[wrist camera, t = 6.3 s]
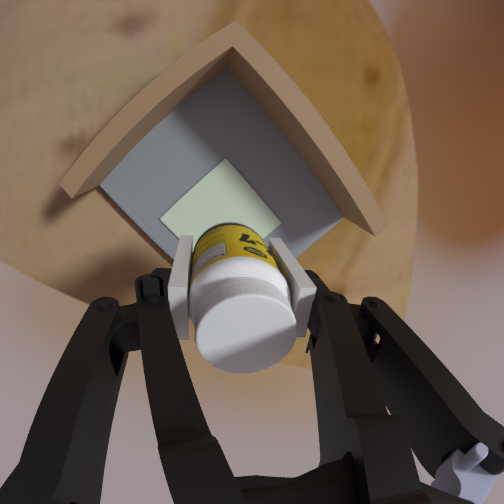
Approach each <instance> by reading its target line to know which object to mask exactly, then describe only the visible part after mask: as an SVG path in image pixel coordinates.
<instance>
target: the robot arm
mask: <svg viewBox="0 0 504 504" xmlns="http://www.w3.org/2000/svg"><path fill="white" fill-rule="evenodd" d="M268 250H269V251H270V253H271V255H272V257H273V258H274V260H275V262H276V264H277V266H278V267H279V269H280V271H281V273H282V274H283V276H284V278H285V279H286V282H287V284H288V287H289V290H290V295H291V308H292V311H293V314H294V316H295V319H296V323H297V336H296V337H305V336H306V332H307V328H309V330H310V332H311V334H310V337H309V341H308V345H307V349H306V353H308V351H309V349H310V355H311V363H312V372H313V381H314V390H315V399H316V409H317V419H318V431H319V443H320V463H319V467H318V468H316V469H314V470H311V471H309V472H307V473H305V474H303V475H300V476H298V477H294V478H285V477H268V476H258V475H255V476H243V477H234V475H233V473H232V471H231V469H230V467H229V465H228V462H227V460H226V458H225V456H224V453H223V451H222V449H221V447H220V445H219V443H218V441H217V439H216V438H215V437H214V436H212V434H211V432H210V430H209V428H208V425H207V422H206V420H205V417H204V415H203V412H202V409H201V407H200V404H199V401H198V398H197V395H196V393H195V390H194V387H193V384H192V381H191V378H190V375H189V372H188V369H187V366H186V363H185V359H184V356H183V353H182V350H181V346H180V343H179V340H188V335H189V316H190V315H189V311H188V291H189V282H190V273H191V264H192V257H193V235H181V236H180V240H179V243H178V247H177V251H176V255H175V259H174V263H173V267H172V268H156V269H155V270H154V271H153V272H152V273H151V274H146V275H142V276H139V277H138V278H137V279H136V280H135V291H136V299H137V302H136V303H134V304H131V305H125V306H119V302H118V301H117V300H116V299H114V298H110V297H102V298H98V299H96V300H95V301H93V302H92V303H91V304H90V306H89V307H88V309H87V311H86V312H85V314H84V316H83V318H82V319H81V321H80V323H79V325H78V326H77V328H76V330H75V332H74V334H73V336H72V338H71V339H70V341H69V343H68V345H67V347H66V349H65V351H64V353H63V355H62V357H61V359H60V361H59V363H58V365H57V367H56V369H55V371H54V373H53V375H52V377H51V380H50V382H49V384H48V386H47V389H46V391H45V393H44V395H43V398H42V400H41V403H40V405H39V407H38V410H37V413H36V415H35V417H34V420H33V423H32V426H31V428H30V431H29V434H28V437H27V440H26V442H25V446H24V449H23V452H22V455H21V458H20V462H19V464H18V465H17V466H16V468H15V469H14V470H13V472H12V473H11V474H10V476H9V477H8V478H7V480H6V481H5V482H4V484H3V485H2V487H1V488H0V504H100V499H101V492H102V483H103V475H104V467H105V461H106V454H107V449H108V442H109V437H110V432H111V426H112V421H113V417H114V412H115V407H116V403H117V398H118V393H119V390H120V385H121V381H122V377H123V373H124V370H125V366H126V362H127V358H128V354H129V353H128V352H129V351H136V350H141V353H142V360H143V367H144V374H145V381H146V387H147V393H148V398H149V404H150V409H151V414H152V419H153V424H154V428H155V433H156V437H157V441H158V451H159V455H160V459H161V463H162V466H163V470H164V474H165V477H166V480H167V484H168V487H169V490H170V493H171V496H172V499H173V502H174V504H483V502H484V501H485V499H486V497H487V495H488V494H489V492H490V490H491V488H492V486H493V485H494V483H495V481H496V479H497V477H498V476H499V475H500V474H501V473H502V472H503V471H504V427H503V426H502V425H501V424H499V423H498V422H497V421H495V420H494V419H493V418H491V417H490V416H489V415H487V414H486V413H484V412H483V411H482V409H481V408H480V407H479V406H478V404H477V403H476V402H475V401H474V400H473V398H472V397H471V396H470V395H469V393H468V392H467V391H466V390H465V389H464V387H463V386H462V385H461V384H460V383H459V382H458V380H457V379H456V378H455V377H454V376H453V375H452V373H451V372H450V371H449V370H448V369H447V368H446V367H445V365H444V364H443V363H442V362H441V361H440V360H439V359H438V358H437V356H436V355H435V354H434V353H433V352H432V351H431V350H430V349H429V348H428V347H427V346H426V344H425V343H424V342H423V341H422V340H421V339H420V338H419V337H418V336H417V335H416V334H415V333H414V332H413V331H412V329H411V328H410V327H409V326H408V325H407V324H406V323H405V322H404V321H403V320H402V319H401V318H400V317H399V316H398V315H397V314H396V313H395V312H394V311H393V310H392V309H391V308H390V307H389V306H388V305H387V304H386V303H385V302H384V301H383V300H381V299H379V298H377V297H376V298H375V297H365V298H363V300H362V303H361V305H356V304H349V303H348V302H347V299H346V298H345V297H344V296H343V295H341V294H339V293H337V292H332V291H330V290H329V289H328V287H327V286H326V285H325V284H324V283H323V281H322V280H321V279H320V277H319V276H318V275H317V274H316V273H314V272H313V271H311V270H303V268H302V267H301V266H300V264H299V263H298V262H297V260H296V259H295V257H294V256H293V255H292V253H291V252H290V251H289V249H288V248H287V247H286V245H285V244H284V243H283V241H282V240H281V239H280V238H269V239H268ZM377 334H378V335H379V336H380V341H379V343H377V342H376V341H375V339H376V337H377ZM385 405H386V406H385ZM386 407H387V409H388V410H389V412H390V413H391V415H389V414H388V412H387V410H386ZM411 449H412V450H413V452H414V454H415V455H416V457H417V458H418V460H419V461H420V463H421V465H422V466H423V467H424V468H425V469H426V471H427V472H428V473H429V474H430V475H431V476H432V477H433V478H434V479H435V480H434V481H433V482H432V483H431V486H429V485H427V484H424V483H422V482H420V480H419V476H418V473H417V468H416V465H415V461H414V458H413V454H412V451H411Z"/></svg>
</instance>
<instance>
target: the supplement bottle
mask: <svg viewBox="0 0 504 504" xmlns="http://www.w3.org/2000/svg"><path fill="white" fill-rule="evenodd" d="M188 311H189V315H190V318H191V320H192V323H193V324H194V326H195V341H196V346H197V348H198V350H199V352H200V354H201V355H202V357H203V358H204V359H205V360H206V361H207V362H208V363H210V364H211V365H213V366H214V367H217V368H219V369H221V370H224V371H227V372H232V373H251V372H256V371H260V370H263V369H266V368H268V367H270V366H272V365H274V364H276V363H277V362H279V361H280V360H281V359H283V358H284V357H285V356H286V355H287V354H288V352H289V351H290V350H291V348H292V346H293V344H294V342H295V339H296V336H297V323H296V319H295V316H294V314H293V311H292V308H291V295H290V290H289V287H288V284H287V282H286V279H285V278H284V276H283V274H282V273H281V271H280V269H279V267H278V266H277V264H276V262H275V260H274V258H273V257H272V255H271V253H270V251H269V250H268V248H267V246H266V244H265V242H264V241H263V239H262V238H261V236H260V235H259V234H258V233H257V232H256V231H255V230H253V229H252V228H251V227H249V226H247V225H245V224H242V223H238V222H223V223H219V224H216V225H214V226H212V227H210V228H208V229H207V230H206V231H205V232H204V233H203V234H202V235H201V236H200V237H199V239H198V240H197V242H196V244H195V247H194V250H193V257H192V264H191V273H190V282H189V291H188Z"/></svg>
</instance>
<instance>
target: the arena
mask: <svg viewBox="0 0 504 504" xmlns="http://www.w3.org/2000/svg"><path fill="white" fill-rule="evenodd" d="M59 185H60V186H61V187H62V188H63V189H64V191H65V192H66V193H67V194H68V195H69V196H70V197H71V198H74V197H76V196H78V195H80V194H82V193H84V192H86V191H89V190H91V189H93V188H95V187H97V186H99V185H100V186H101V187H102V188H103V189H104V191H105V192H106V193H107V194H108V195H109V196H110V197H111V198H112V199H113V200H114V201H115V202H116V203H117V204H118V205H119V206H120V207H121V208H122V209H123V210H124V211H125V212H126V214H127V215H128V216H129V217H130V218H131V219H132V220H133V221H134V222H135V223H136V224H137V225H138V226H139V227H140V228H141V229H142V230H143V231H144V232H145V233H146V234H147V235H148V236H149V237H150V238H151V239H152V240H154V241H155V242H156V243H157V244H158V245H159V246H160V247H161V248H162V249H163V250H164V251H165V252H166V253H167V254H168V255H169V256H170V257H171V258H172V259H173V260H174V259H175V255H176V251H177V247H178V243H179V240H180V236H181V235H193V250H194V247H195V244H196V242H197V240H198V239H199V237H200V236H201V235H202V234H203V233H204V232H205V231H206V230H207V229H208V228H210V227H212V226H214V225H216V224H219V223H223V222H238V223H242V224H245V225H247V226H249V227H251V228H252V229H253V230H255V231H256V232H257V233H258V234H259V235H260V236H261V238H262V239H263V241H264V242H265V244H266V246H267V248H268V239H269V238H280V239H281V240H282V241H283V243H284V244H285V245H286V247H287V248H288V249H289V251H290V252H291V253H292V255H293V256H294V257H295V258H297V257H298V256H299V255H300V254H301V253H303V252H304V251H305V250H306V249H307V248H309V247H310V246H311V245H312V244H313V243H314V242H316V241H317V240H318V239H319V238H320V237H322V236H323V235H324V234H325V233H326V232H327V231H329V230H330V229H331V228H332V227H333V226H334V225H336V224H337V223H338V222H339V221H340V220H341V219H343V218H344V217H345V218H346V219H348V220H350V221H351V222H353V223H355V224H356V225H358V226H359V227H361V228H363V229H364V230H366V231H367V232H369V233H371V234H372V235H374V236H377V235H378V234H379V233H380V232H381V231H382V230H383V229H384V228H385V227H386V226H387V225H388V223H387V221H386V219H385V217H384V216H383V214H382V212H381V210H380V208H379V206H378V205H377V203H376V201H375V199H374V197H373V196H372V194H371V192H370V190H369V189H368V187H367V185H366V184H365V182H364V180H363V179H362V177H361V175H360V174H359V172H358V170H357V169H356V167H355V166H354V164H353V163H352V161H351V159H350V158H349V156H348V155H347V153H346V152H345V150H344V149H343V147H342V146H341V144H340V143H339V141H338V140H337V138H336V137H335V135H334V134H333V133H332V131H331V130H330V128H329V127H328V126H327V124H326V123H325V121H324V120H323V119H322V117H321V116H320V115H319V113H318V112H317V111H316V109H315V108H314V107H313V105H312V104H311V103H310V101H309V100H308V99H307V98H306V96H305V95H304V94H303V93H302V91H301V90H300V89H299V88H298V86H297V85H296V84H295V83H294V82H293V80H292V79H291V78H290V77H289V76H288V74H287V73H286V72H285V71H284V70H283V69H282V68H281V66H280V65H279V64H278V63H277V62H276V61H275V60H274V59H273V57H272V56H271V55H270V54H269V53H268V52H267V51H266V50H265V49H264V48H263V47H262V46H261V45H260V44H259V43H258V42H257V41H256V40H255V38H254V37H253V36H252V35H251V34H250V33H249V32H248V31H246V30H245V29H244V28H243V27H242V26H241V25H240V24H239V23H238V22H237V21H234V22H233V23H231V24H229V25H228V26H226V27H224V28H223V29H221V30H220V31H218V32H216V33H215V34H213V35H212V36H210V37H209V38H207V39H206V40H204V41H203V42H201V43H200V44H199V45H197V46H196V47H194V48H193V49H192V50H190V51H189V52H187V53H186V54H185V55H183V56H182V57H181V58H179V59H178V60H177V61H176V62H174V63H173V64H172V65H171V66H169V67H168V68H167V69H166V70H164V71H163V72H162V73H161V74H160V75H158V76H157V77H156V78H155V79H154V80H153V81H151V82H150V83H149V84H148V85H147V86H146V87H145V88H144V89H142V90H141V91H140V92H139V93H138V94H137V95H136V96H135V97H134V98H133V99H132V100H131V101H130V102H129V103H128V104H127V105H126V106H125V107H124V108H123V109H122V110H121V111H120V112H119V113H118V114H117V115H116V116H115V117H114V118H113V119H112V120H111V121H110V122H109V123H108V124H107V125H106V126H105V127H104V128H103V130H102V131H101V132H100V133H99V134H98V135H97V136H96V137H95V139H94V140H93V141H92V142H91V143H90V144H89V146H88V147H87V148H86V149H85V150H84V152H83V153H82V154H81V155H80V157H79V158H78V159H77V160H76V162H75V163H74V164H73V166H72V167H71V168H70V170H69V171H68V172H67V174H66V175H65V176H64V178H63V179H62V180H61V182H60V183H59Z"/></svg>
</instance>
